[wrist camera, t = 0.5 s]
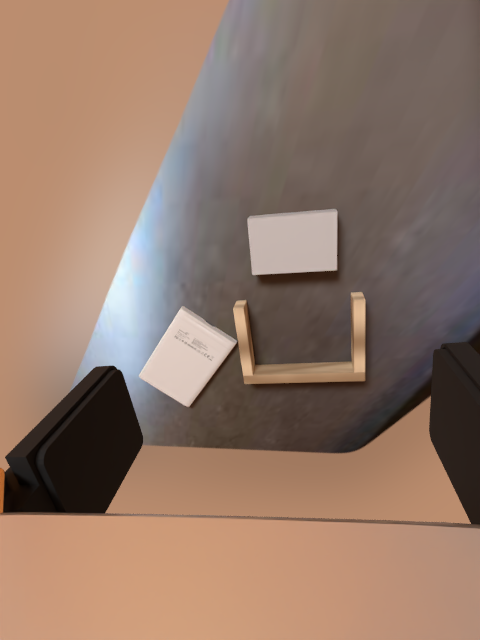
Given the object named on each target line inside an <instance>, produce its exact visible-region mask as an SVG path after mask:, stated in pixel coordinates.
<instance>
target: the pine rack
mask: <svg viewBox="0 0 480 640" xmlns="http://www.w3.org/2000/svg"><path fill="white" fill-rule="evenodd" d="M233 311H234V317H235V324H236V331H237V337H238V344H239V350H240V357H241V364H242V370H243V377H244V383H245V384H264V383H304V382H344V381H365V298H364V296H363V294H362V292H354V293H351V357H352V362H326V363H298V364H270V365H255V359H254V352H253V345H252V337H251V330H250V322H249V315H248V307H247V300H242V301H236V304H235V306H234V308H233Z"/></svg>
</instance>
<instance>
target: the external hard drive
mask: <svg viewBox="0 0 480 640" xmlns="http://www.w3.org/2000/svg"><path fill="white" fill-rule="evenodd" d="M236 343H237V341H236V340H235V339H233V338H232V337H230V336H229V335H227V334H225V333H224V332H222V331H221V330H219V329H218V328H216V327H213V326H211V325H210V324H208V323H207V322H206V321H205V320H204V319H202V318H201V317H199V316H198V315H196V314H195V313H193V312H192V311H190V310H188V309H187V308H185V307H184V306H182V307H181V309H180V310H179V312H178V314H177V315H176V317H175V318H174V320H173V322H172V323H171V325H170V326H169V328H168V329H167V331H166V333H165V334H164V336H163V337H162V339H161V341H160V342H159V344H158V346H157V347H156V349H155V350H154V352H153V354H152V355H151V357H150V358H149V360H148V362H147V363H146V365H145V367H144V368H143V370H142V371H141V373H140V375H139V377H140V378H141V379H143V380H144V381H146V382H147V383H149V384H151V385H152V386H154V387H156V388H157V389H159V390H160V391H162V392H164V393H165V394H167V395H168V396H170V397H172V398H173V399H175V400H177V401H178V402H180V403H181V404H183V405H185V406H187V407H189V406H190V405H191V404H192V402H193V401H194V400H195V398H196V397H197V396H198V394H199V393H200V392H201V390H202V389H203V388H204V386H205V385H206V384H207V382H208V381H209V380H210V378H211V377H212V376H213V374H214V373H215V372H216V370H217V369H218V368H219V366H220V365H221V364H222V362H223V361H224V360H225V358H226V357H227V355H228V354H229V353H230V351H231V350H232V349H233V347H234V346H235V345H236Z"/></svg>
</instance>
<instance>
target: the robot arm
mask: <svg viewBox="0 0 480 640" xmlns="http://www.w3.org/2000/svg"><path fill="white" fill-rule="evenodd" d="M429 426H430V428H429V431H430V437H431V441H432V443H433V445H434V447H435V449H436V452H437V454H438V456H439V458H440V460H441V462H442V464H443V466H444V468H445V470H446V472H447V474H448V476H449V478H450V481H451V483H452V485H453V487H454V489H455V491H456V493H457V495H458V497H459V499H460V501H461V503H462V506H463V508H464V510H465V512H466V514H467V516H468V518H469V520H470V522H471V524H460V523H446V522H412V521H390V520H388V521H387V520H355V519H322V518H321V519H320V518H288V517H287V518H286V517H249V516H247V517H246V516H206V515H164V514H108V513H105V512H106V510H107V509H108V507H109V505H110V503H111V501H112V499H113V498H114V496H115V494H116V492H117V490H118V489H119V487H120V485H121V483H122V481H123V480H124V478H125V476H126V474H127V472H128V471H129V469H130V467H131V465H132V463H133V461H134V460H135V458H136V456H137V454H138V452H139V451H140V449H141V447H142V444H143V435H142V432H141V429H140V426H139V423H138V420H137V417H136V414H135V410H134V407H133V404H132V401H131V398H130V395H129V392H128V389H127V386H126V383H125V380H124V377H123V374H122V372H121V371H120V370H117V368H116V367H115V366H101V367H95V368H94V369H93V370H92V371H91V372H90V373H89V374H88V375H87V376H86V377H85V378H84V379H83V380H82V381H81V382H80V383H79V384H78V385H77V386H76V387H75V388H74V389H73V390H72V391H71V392H70V393H69V394H68V395H67V396H66V397H65V398H64V399H63V400H62V401H61V402H60V403H59V404H58V405H57V406H56V407H55V408H54V409H53V410H52V411H51V412H50V413H49V414H48V415H47V416H46V417H45V418H44V419H43V420H42V421H41V422H40V423H39V424H38V425H37V426H36V427H35V428H34V429H33V430H32V431H31V432H30V433H29V434H28V435H27V436H26V437H25V438H24V439H23V440H22V441H21V442H20V443H19V444H18V445H17V446H16V447H15V448H14V449H13V450H12V451H11V452H10V453H9V454H8V455H7V456H6V457H5V458H6V460H7V462H8V464H9V466H10V468H9V469H8V470H7V471H6V472H4V470H3V469H2V468H0V640H480V355H479V354H478V353H477V352H476V351H475V350H474V349H473V348H472V347H471V346H470V345H469V344H468V343H467V342H461V343H446V344H442V345H441V348H440V349H435V350H434V354H433V370H432V388H431V408H430V425H429Z"/></svg>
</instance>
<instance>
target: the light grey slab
mask: <svg viewBox="0 0 480 640" xmlns="http://www.w3.org/2000/svg"><path fill="white" fill-rule="evenodd" d="M247 221H248V232H249V243H250V254H251V265H252V275H262V274H280V273H298V272H316V271H334V270H337V210H336V209H328V210H316V211H304V212H292V213H281V214H269V215H257V216H250V217H249V218H248V219H247Z"/></svg>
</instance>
